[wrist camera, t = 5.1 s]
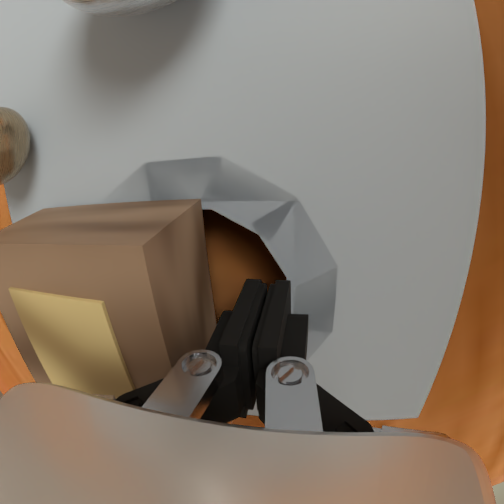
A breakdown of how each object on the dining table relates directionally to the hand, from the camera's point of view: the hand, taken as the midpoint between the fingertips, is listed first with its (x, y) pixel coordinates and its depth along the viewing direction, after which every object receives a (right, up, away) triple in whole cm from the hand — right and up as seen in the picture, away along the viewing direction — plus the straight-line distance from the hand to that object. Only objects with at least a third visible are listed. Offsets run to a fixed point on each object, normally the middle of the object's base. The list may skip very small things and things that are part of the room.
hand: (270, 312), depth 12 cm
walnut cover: (-7, 0, +2) cm, 7 cm away
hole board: (-3, +7, +2) cm, 8 cm away
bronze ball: (-13, +7, -2) cm, 15 cm away
